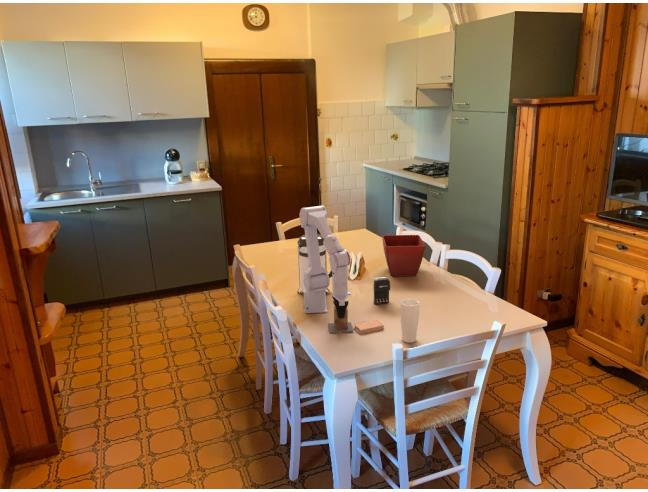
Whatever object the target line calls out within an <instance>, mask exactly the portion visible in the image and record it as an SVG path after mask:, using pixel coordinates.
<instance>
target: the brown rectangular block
mask: <svg viewBox="0 0 648 492" xmlns="http://www.w3.org/2000/svg"><path fill="white" fill-rule="evenodd" d="M348 310H349V309H348V307H347V308H346V311H345V316H344V318H338V315H337V310H336V307H335V305H333V323H334V327H335V329H348V322H349V320H348V319H349V318H348V317H349V315H348V312H349V311H348Z"/></svg>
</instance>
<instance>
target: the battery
mask: <svg viewBox="0 0 648 492" xmlns="http://www.w3.org/2000/svg"><path fill="white" fill-rule="evenodd" d="M372 286H373V287H372V290H373V303H374V304H375V305H384V304H385V305H386V304H389V303H390V291H391V280H390V278H389V277H387V276H381V277H380V276H379V277H375V278H374V279H373V285H372Z"/></svg>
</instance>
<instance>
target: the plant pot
mask: <svg viewBox="0 0 648 492" xmlns="http://www.w3.org/2000/svg"><path fill="white" fill-rule="evenodd" d="M421 237H422V236H420V235H419V234H389V235H388V234H385V235H382V236H381V239H382V246H383V252H384V257H385V261H386V264H387V265H386V266H387V268H388V271H389V275H390V276H391V277H416V276H417V275H418V273H419V270H420V268H421V265H422V261H423V258H424V255H425V249H426V244H425V242H424V241H423V240H422V238H421Z"/></svg>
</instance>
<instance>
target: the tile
mask: <svg viewBox="0 0 648 492" xmlns="http://www.w3.org/2000/svg"><path fill="white" fill-rule="evenodd" d="M384 328H385V325H384V324H383V323H382V322H380V320H379V319H375V320H370V321H367V322H362V323H357V324H354V330H355V331H356V332H357V333H359V335H360V334H366V333H371V332H375V331H380V330H384Z"/></svg>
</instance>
